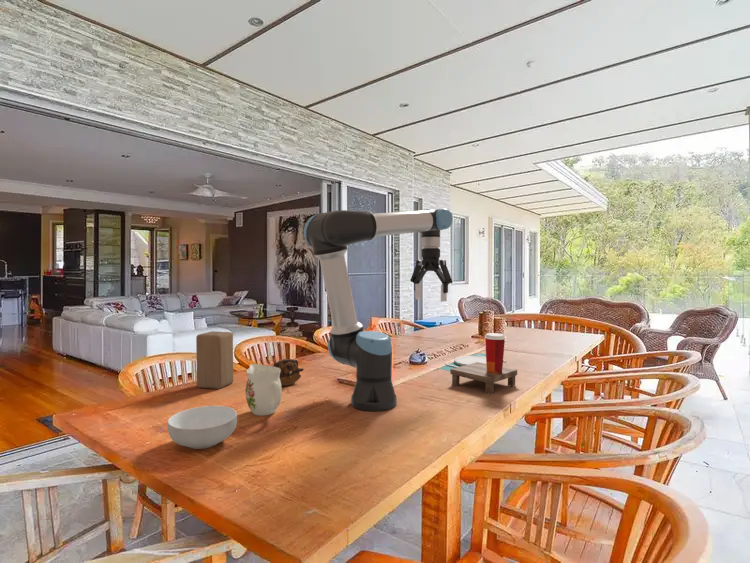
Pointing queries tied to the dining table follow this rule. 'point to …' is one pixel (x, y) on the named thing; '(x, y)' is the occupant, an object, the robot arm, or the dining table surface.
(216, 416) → the cereal bowl
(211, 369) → the block
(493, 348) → the paper cup
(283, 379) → the wooden carving
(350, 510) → the dining table surface
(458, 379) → the walnut stand
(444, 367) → the place mat
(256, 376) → the pitcher
